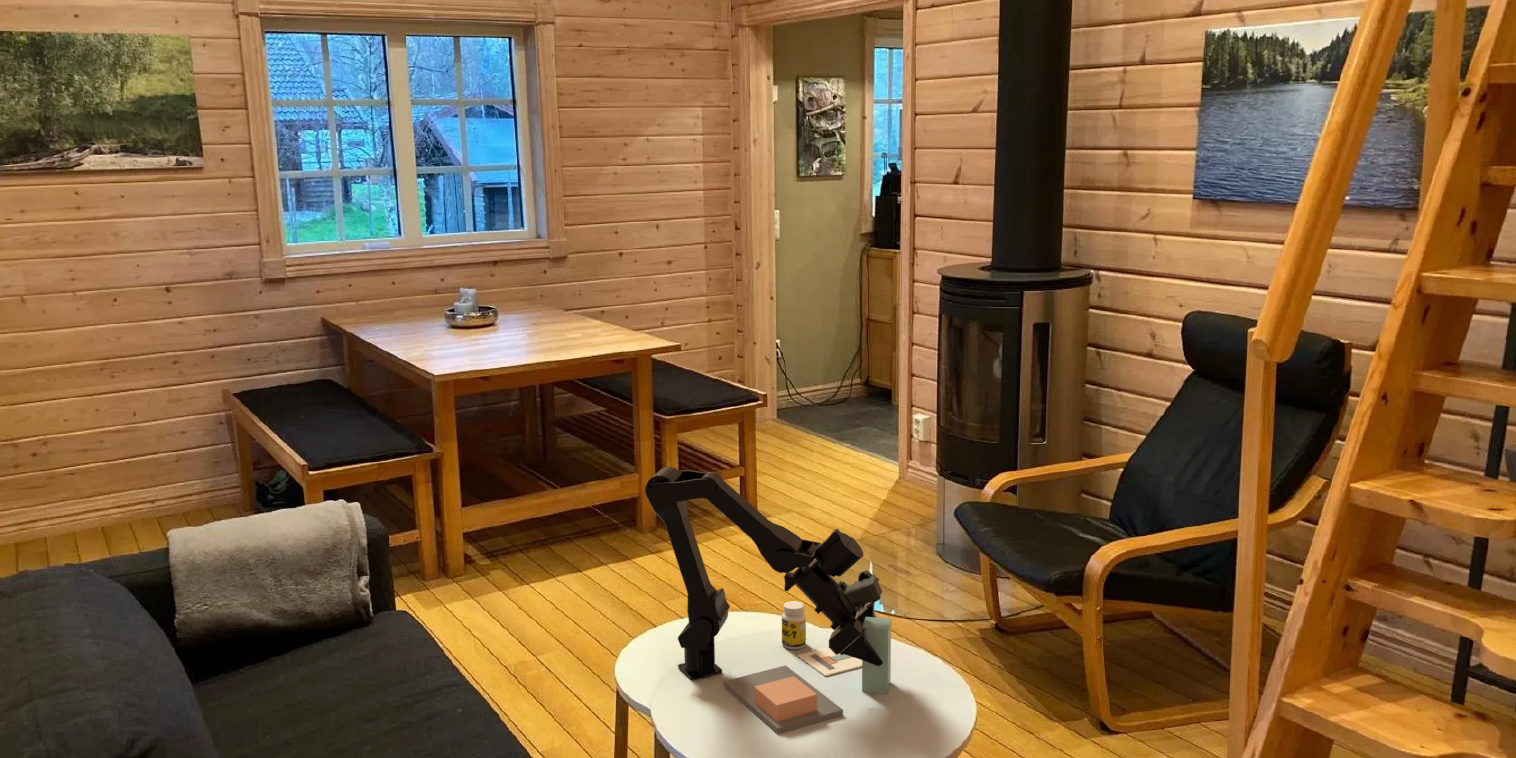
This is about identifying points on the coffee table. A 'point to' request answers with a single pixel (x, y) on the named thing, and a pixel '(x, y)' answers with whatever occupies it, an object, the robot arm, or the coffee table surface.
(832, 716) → the baseplate
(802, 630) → the supplement bottle
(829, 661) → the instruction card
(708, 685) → the coffee table surface
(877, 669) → the tall brick
